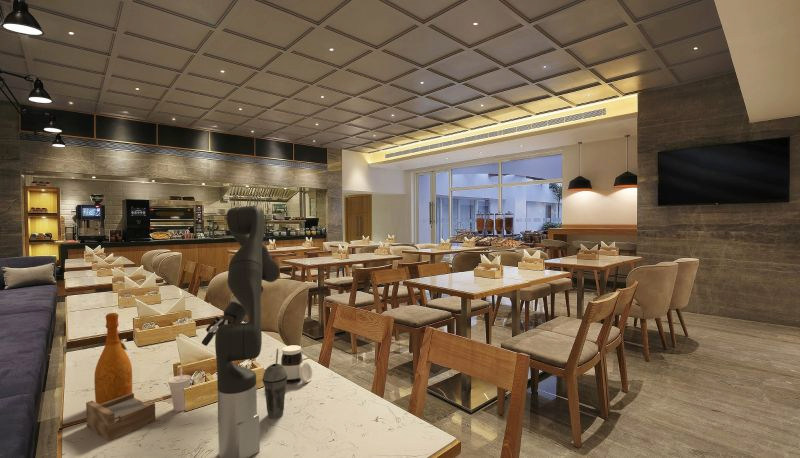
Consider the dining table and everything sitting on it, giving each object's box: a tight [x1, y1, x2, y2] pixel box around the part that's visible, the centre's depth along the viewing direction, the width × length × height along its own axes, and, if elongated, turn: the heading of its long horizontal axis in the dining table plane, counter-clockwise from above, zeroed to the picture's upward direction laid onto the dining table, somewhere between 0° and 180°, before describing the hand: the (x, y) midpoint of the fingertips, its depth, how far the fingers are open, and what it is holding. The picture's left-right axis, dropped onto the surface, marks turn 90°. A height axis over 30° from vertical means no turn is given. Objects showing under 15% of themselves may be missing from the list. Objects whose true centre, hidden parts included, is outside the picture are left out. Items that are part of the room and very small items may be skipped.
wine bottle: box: [93, 312, 133, 404], centre depth 126 cm, size 10×10×30 cm
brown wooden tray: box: [85, 392, 156, 441], centre depth 114 cm, size 14×12×7 cm
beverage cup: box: [262, 348, 287, 419], centre depth 119 cm, size 7×7×20 cm
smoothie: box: [167, 364, 192, 413], centre depth 123 cm, size 6×6×14 cm
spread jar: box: [280, 344, 313, 384], centre depth 145 cm, size 12×11×12 cm
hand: (211, 346), depth 132 cm, fingers open, 8 cm apart
